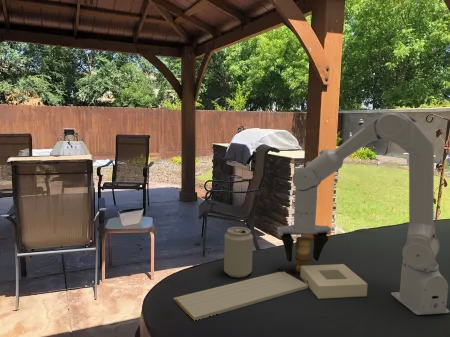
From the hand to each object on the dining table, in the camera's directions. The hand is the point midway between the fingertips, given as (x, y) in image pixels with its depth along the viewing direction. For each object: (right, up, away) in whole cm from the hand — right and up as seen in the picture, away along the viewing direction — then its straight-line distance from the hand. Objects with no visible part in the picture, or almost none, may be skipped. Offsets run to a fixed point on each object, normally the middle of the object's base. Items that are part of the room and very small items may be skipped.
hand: (302, 259), depth 100 cm
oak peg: (0, -3, 0) cm, 3 cm away
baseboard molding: (-17, -5, -13) cm, 22 cm away
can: (-18, -3, -2) cm, 18 cm away
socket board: (+5, -4, -9) cm, 11 cm away
